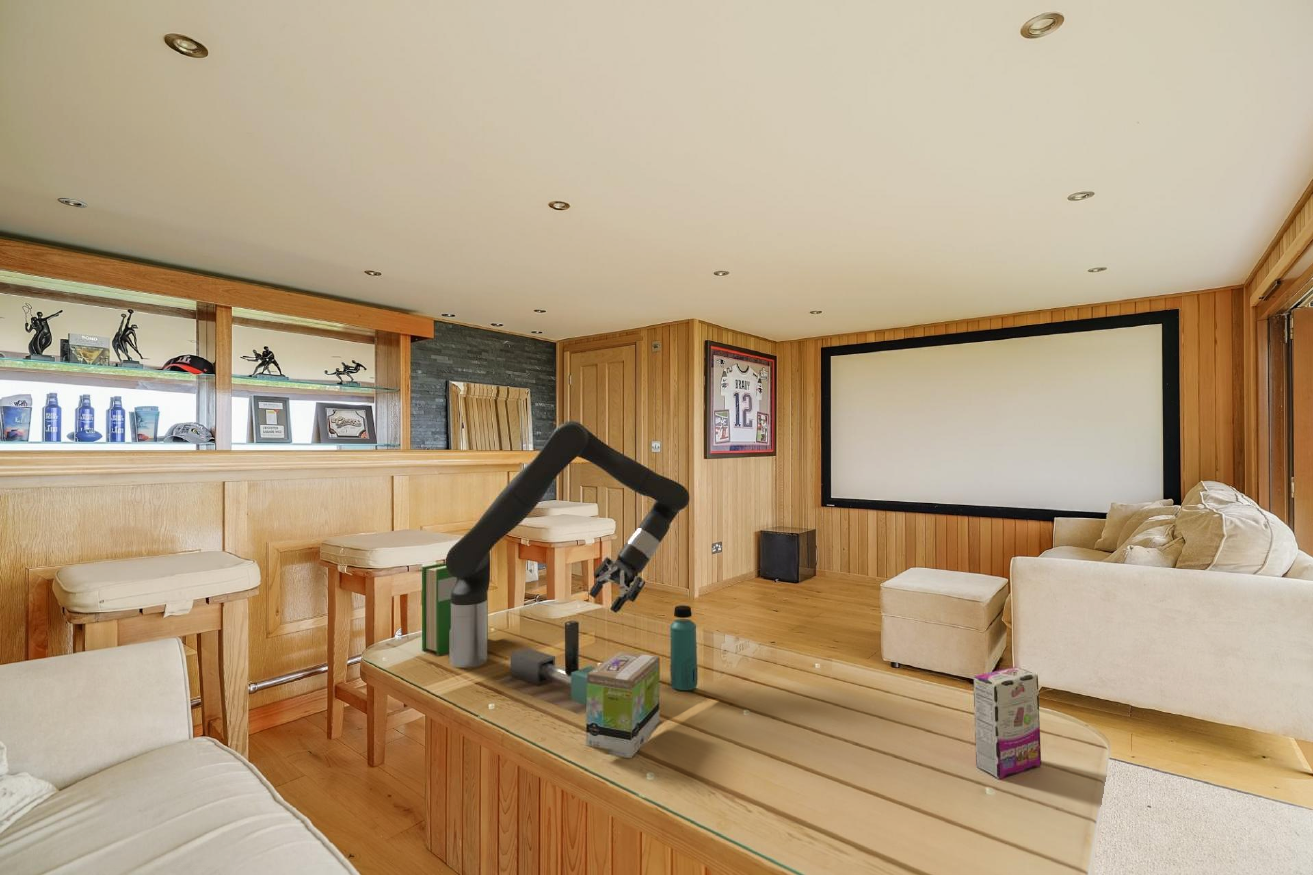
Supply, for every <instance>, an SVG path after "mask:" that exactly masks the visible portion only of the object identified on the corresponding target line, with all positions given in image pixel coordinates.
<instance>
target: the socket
mask: <svg viewBox="0 0 1313 875" xmlns="http://www.w3.org/2000/svg"><path fill="white" fill-rule="evenodd" d="M596 667H597V666H596ZM596 667H595V666H593V665H588V666H586V667H584V668H583V667H582V668H579V670H578V671H575V672H572V673H571V700H573V701H576V702H578V703H581V704H584V705H586V706H587V674H588V673H589V672H590V671H592V670H593V669H595V668H596Z"/></svg>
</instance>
